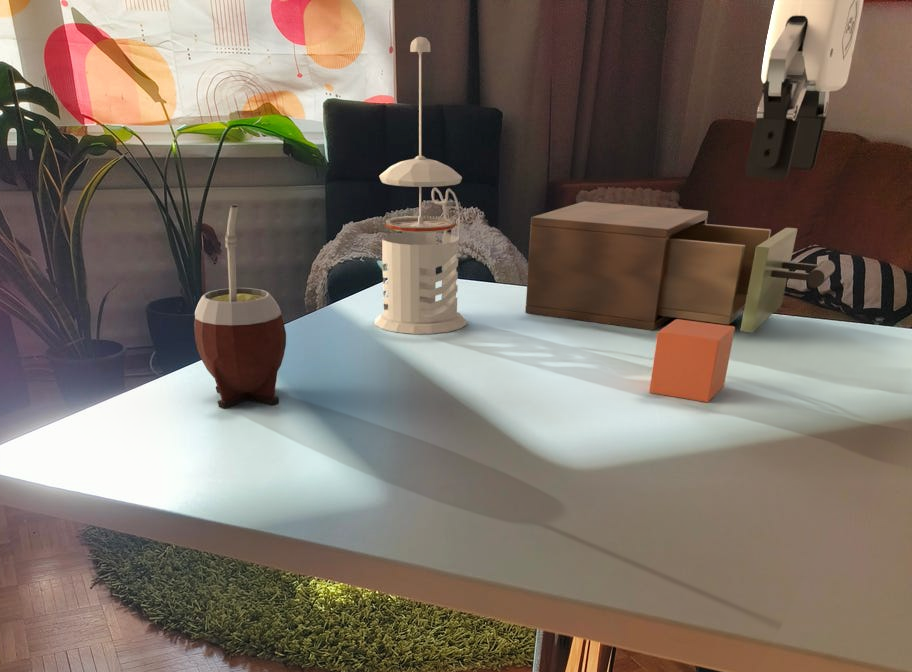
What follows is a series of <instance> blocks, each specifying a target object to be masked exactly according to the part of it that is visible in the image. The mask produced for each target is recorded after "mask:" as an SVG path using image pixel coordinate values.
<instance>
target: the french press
mask: <svg viewBox="0 0 912 672" xmlns="http://www.w3.org/2000/svg"><path fill="white" fill-rule="evenodd" d="M410 52H411V53H417V54H418V106H419V107H418V111H419V112H418V155H417V156H415V157H414V158H411V159H406V160H402V161H398V162H397V163H394V164H392V165H391V166H389V167H388V168H387V169H386V170H384V171H383V172H382V173H380V175H379V176H378V177H379V179H380V182H381V183H382V184H385V185H389V186H398V187H413V188H415V187H418V190H419V191H418V192H419V194H418V196H419V198H418V199H419V200H418V202H419V205H418V211H419V215H417V216H416V215H403V216H394V217H391V218H387V219H386V220H385V221H384V224H385V227H386V228H387V229H391V230H394V231H396V233H391V234H387V235H384V236H382V238H381V239H382V241H381V242H382V243H381V244H382V246H381V247H382V248H381V250H382V257H381V258H382V278H383V279H382V289H383V293H382V294H383V311H382V312H380V313H379V315H378V316H377V317H376V318H375V319H374V326H375V327H376V326H377V328H380V329H381V330H386V331H390V332H393V333H400V334H410V335H411V334H412V335H428V334H429V335H433V334H442V333H447V332H448V333H449V332H452V331H456V330H460V329H462V328H464V327H465V326H466V325H467V324H468V323H467V321H466V319H465V318H464V316H463V315H462V314H461V313H460V312H459V311H458V297H457V293H458V291H459V290H458V289H459V288H458V284H457V281H458V279H459V272H458V271H457V268H458V266H459V257H458V253H459V241H460V235H461V212H460V211H461V210H460V206H459V201H458V198H457V196H456V193H455V192H454V191H453V190H452V189H451V188H447V189H446V191H445V199H444V197H443V194H442V192H441V191H440V190H439V188H437V187H448V186H456V185H458V184H460V183H461V182H462V179H463V177H462V175H460V174H459V173H458V172H457V171H455V169H454V168H452V167H450V166H449V165H446V164H444V163H442V162H440V161H438V160H434V159H430V158H427V157H425V156H424V155H422V55H423V53H431V43H430V41H429V40H428V38H427V37H424V36H417V37H414V39H413V40H412V41H411V43H410ZM427 187H428V188H429V187H433V188H432V190H431V200H432V202H433V203H434V204H435V205H442V210H443V214H444V215H443V216H440V215H438V216H437V215H435V216H434V215H433V216H432V215H430V216H428V215H422V188H427ZM435 192H436V193H437V194H438V195H439V198H440V200H441V201H439V200H438V201H437V200H436V199H435ZM449 193H450V194H451V195H452V196H453V199H454V201H455V206H456V211H457V222H456V221H455V219H453V218H449V217H448V215H447V208H446V204H447V203H448V200H449ZM456 225H457V236H455V235H453V234H447V231H450V230H451V229H454V228H455V227H456ZM397 232H399V233H397ZM439 232H443V233H441V234H442V235H441V236H442V237H441V238H442V240H441V243H437V233H439ZM386 266H387V267H386ZM440 267H441V272H439V273H436V271H437V268H440ZM386 280H387V281H386ZM438 282H441V286H439V287H437V286H436V285H437V284H436V283H438ZM386 293H387V295H386ZM385 295H386V296H385ZM440 295H441V299H439V300H437V301H436V297H437V296H440Z"/></svg>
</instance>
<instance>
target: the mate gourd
mask: <svg viewBox="0 0 912 672" xmlns="http://www.w3.org/2000/svg"><path fill="white" fill-rule="evenodd" d="M238 212H239V205H238V204H237V203H233V204H231V205H230V207H229V213H228V218H227V226H226V232H225V234H224V240H225V241H224V244H225V246H224V247H225V248H226V250H227V251H226V252H227V270H228V271H227V273H228V288H221V289H216V290H211V291H207V292H206V293H204V294H203V295H202V296H201V297H200V299H199V301H198V303H197V305H196V308H195V311H194V323H193V327H194V341H195V344H196V349H197V352H198V354H199V356H200V359H201V361H202V363H203V365H204V367H205V369H206V370H207V372H208V373H209V374H210V375H211V376H212V378H213V379H214V381H215V384H216V386H215V390H216V393H217V394H219V396H220V399H219V400H217V404H218V405H217V406H218V408H220V409H221V408H222V409H228V408H230V407H233V406H235V405H238V404H240V403H242V402H245V401H252V402H253V401H254V402H258V403H262V404H267V405H271V406H274V405H277V404H279V403H280V396H278V395H277V396H276V394H275V393H276V385H277V377H278V372H279V369H280V368H281V366H282V363H283V360H284V356H285V351H286V346H287V332H286V326H285V322H284V320H283V316H282V311H281V309H280V306H279V304H278V302H277V301H276V299H274V297H273V295H272V294H271V293H270V292H268V291H266V290H264V289H260V288H259V289H258V288H252V287H237V265H236V264H237V263H236V249H237V246H238V245H237V244H238V243H237V234H236V223H237V217H238V216H237V215H238Z"/></svg>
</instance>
